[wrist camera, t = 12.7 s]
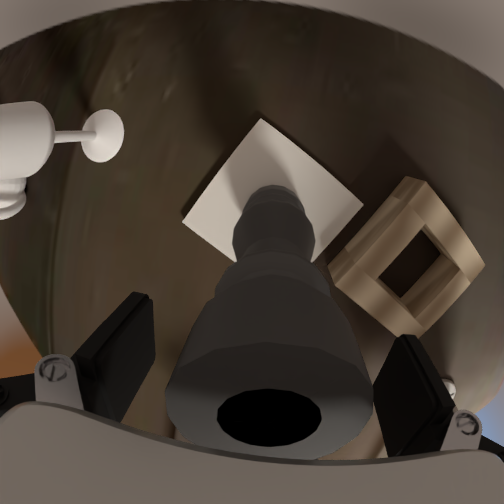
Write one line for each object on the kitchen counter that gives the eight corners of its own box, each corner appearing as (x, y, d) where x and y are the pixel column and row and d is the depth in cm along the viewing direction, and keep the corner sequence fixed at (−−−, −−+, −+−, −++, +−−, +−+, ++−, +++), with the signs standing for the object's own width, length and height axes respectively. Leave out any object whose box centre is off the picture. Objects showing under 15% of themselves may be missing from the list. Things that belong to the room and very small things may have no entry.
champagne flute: (121, 163, 30) (-62, 214, 8) (78, 161, 30) (-86, 205, 8) (127, 108, 28) (-57, 94, 6) (84, 110, 28) (-84, 113, 6)
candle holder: (255, 176, 29) (176, 290, 5) (312, 196, 29) (428, 364, 6) (236, 230, 31) (147, 438, 8) (290, 249, 31) (316, 477, 8)
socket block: (464, 250, 30) (485, 264, 26) (396, 325, 35) (408, 347, 30) (405, 175, 28) (425, 181, 24) (326, 265, 33) (334, 285, 28)
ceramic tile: (361, 202, 30) (363, 204, 29) (280, 291, 34) (280, 295, 33) (261, 119, 28) (260, 118, 27) (184, 220, 32) (182, 222, 31)
